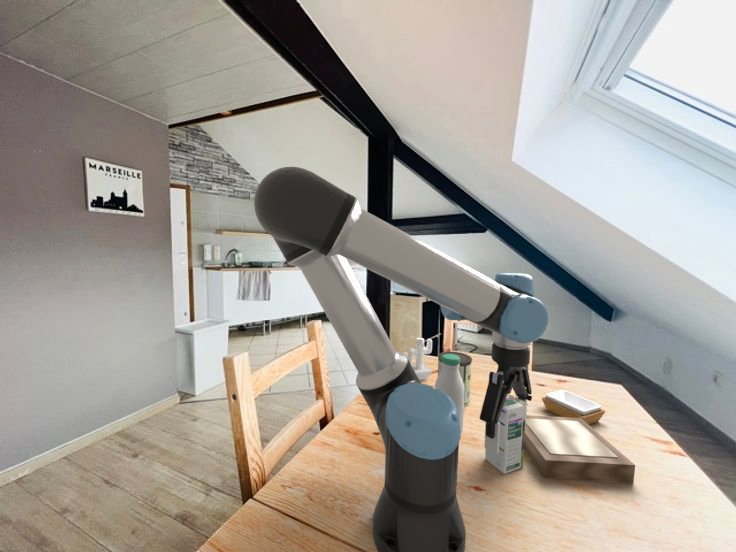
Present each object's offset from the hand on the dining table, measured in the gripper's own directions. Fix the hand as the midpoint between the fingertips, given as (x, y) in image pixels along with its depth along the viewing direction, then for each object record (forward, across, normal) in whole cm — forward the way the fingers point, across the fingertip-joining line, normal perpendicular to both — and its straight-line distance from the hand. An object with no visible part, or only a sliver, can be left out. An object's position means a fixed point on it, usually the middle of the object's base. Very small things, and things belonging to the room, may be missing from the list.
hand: (506, 437), depth 69 cm
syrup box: (+6, 0, 0) cm, 6 cm away
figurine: (+6, +22, +42) cm, 48 cm away
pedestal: (+6, +14, -8) cm, 17 cm away
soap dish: (+7, +36, -3) cm, 37 cm away
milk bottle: (+6, +1, +16) cm, 17 cm away
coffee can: (+6, +17, +24) cm, 30 cm away
